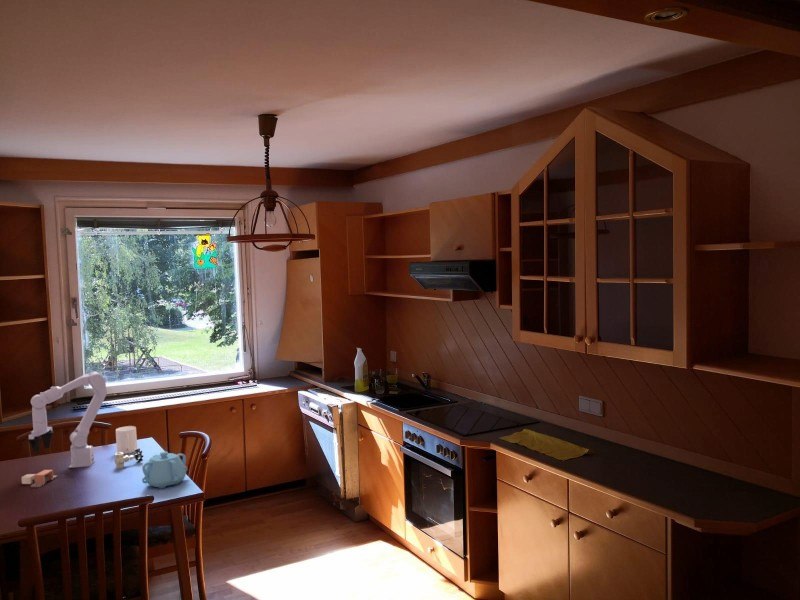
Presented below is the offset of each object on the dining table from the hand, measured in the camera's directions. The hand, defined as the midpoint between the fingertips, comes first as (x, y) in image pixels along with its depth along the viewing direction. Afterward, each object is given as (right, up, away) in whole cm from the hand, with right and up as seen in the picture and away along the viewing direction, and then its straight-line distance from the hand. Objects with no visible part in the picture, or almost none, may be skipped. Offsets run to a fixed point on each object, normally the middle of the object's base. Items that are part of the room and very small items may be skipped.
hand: (42, 450), depth 303 cm
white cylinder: (+28, -7, +28) cm, 40 cm away
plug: (+5, -11, -14) cm, 18 cm away
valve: (+37, -8, +6) cm, 38 cm away
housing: (+9, -11, -14) cm, 20 cm away
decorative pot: (+64, -9, -22) cm, 69 cm away
